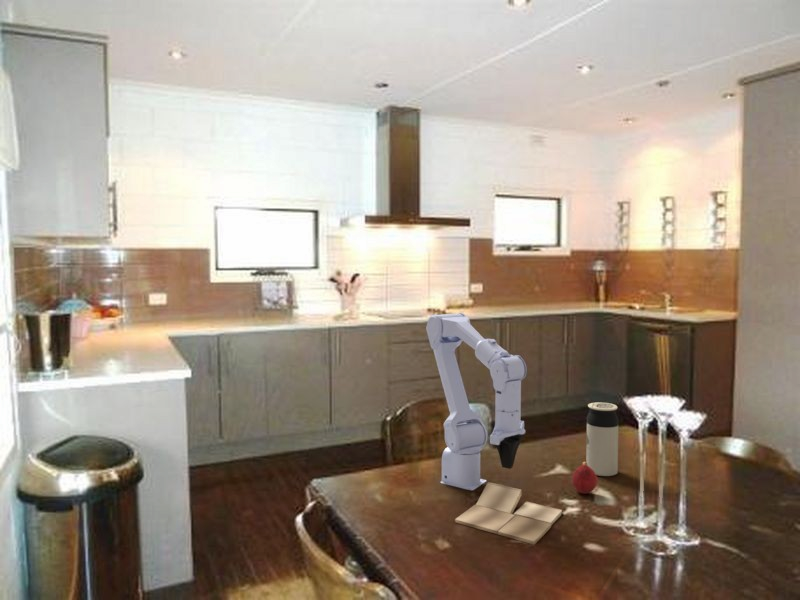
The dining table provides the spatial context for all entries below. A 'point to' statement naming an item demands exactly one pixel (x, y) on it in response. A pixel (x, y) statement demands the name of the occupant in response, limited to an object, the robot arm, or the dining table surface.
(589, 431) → the travel mug
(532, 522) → the laid row
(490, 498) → the plank
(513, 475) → the dining table surface
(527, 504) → the plank
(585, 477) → the onion
